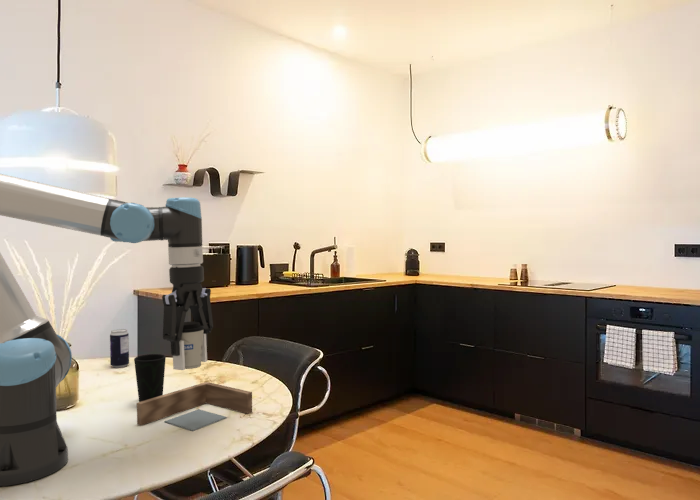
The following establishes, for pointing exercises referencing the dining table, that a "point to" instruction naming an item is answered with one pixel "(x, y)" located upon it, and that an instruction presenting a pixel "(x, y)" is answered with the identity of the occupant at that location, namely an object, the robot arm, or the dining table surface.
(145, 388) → the cup
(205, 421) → the pad
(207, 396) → the corner wall
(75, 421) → the dining table surface
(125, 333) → the beverage can
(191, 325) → the coffee cup
